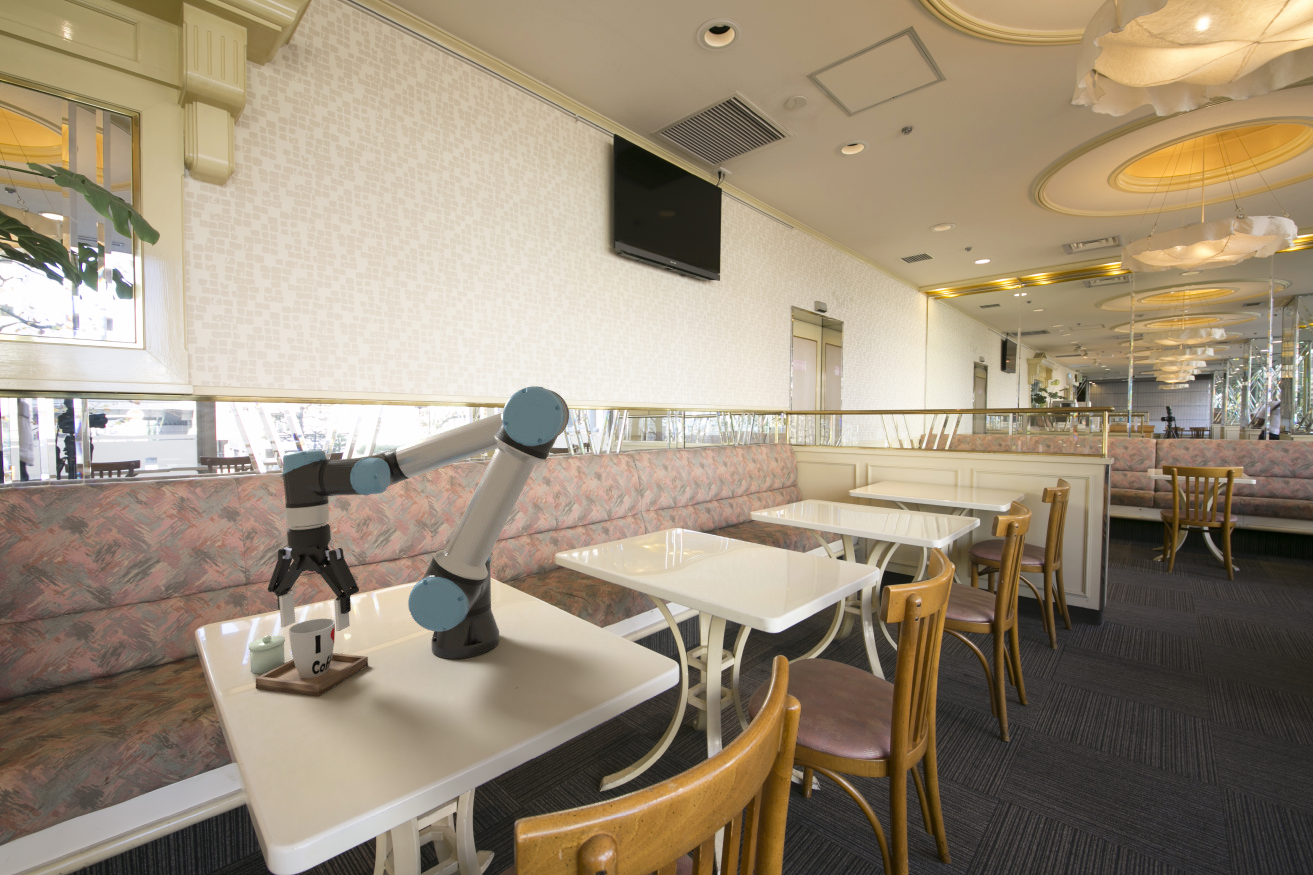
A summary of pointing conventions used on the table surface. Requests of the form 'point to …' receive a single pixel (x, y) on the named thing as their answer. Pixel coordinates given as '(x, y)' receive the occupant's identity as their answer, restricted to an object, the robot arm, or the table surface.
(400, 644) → the table surface
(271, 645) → the sugar pot
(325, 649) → the cup
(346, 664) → the tray
